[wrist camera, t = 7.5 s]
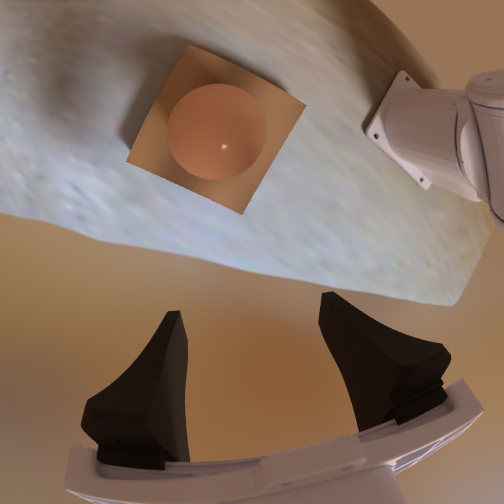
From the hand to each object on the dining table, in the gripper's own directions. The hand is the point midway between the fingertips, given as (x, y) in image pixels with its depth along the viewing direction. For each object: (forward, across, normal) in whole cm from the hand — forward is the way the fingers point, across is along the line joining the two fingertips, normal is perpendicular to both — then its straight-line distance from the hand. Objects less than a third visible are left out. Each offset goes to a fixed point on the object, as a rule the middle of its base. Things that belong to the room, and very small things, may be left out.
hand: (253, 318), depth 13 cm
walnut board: (+10, +1, -9) cm, 14 cm away
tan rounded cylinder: (+8, +1, -9) cm, 12 cm away
